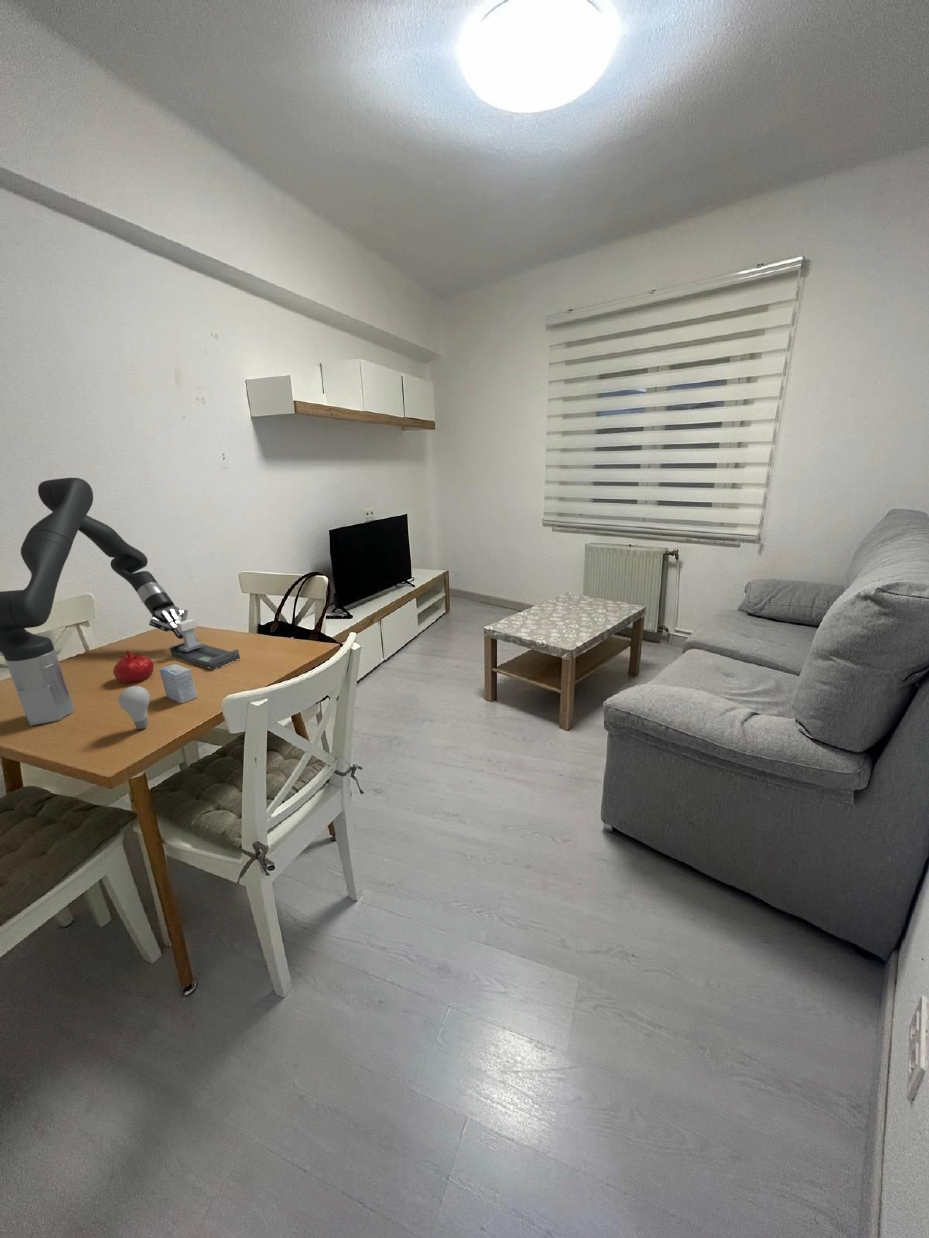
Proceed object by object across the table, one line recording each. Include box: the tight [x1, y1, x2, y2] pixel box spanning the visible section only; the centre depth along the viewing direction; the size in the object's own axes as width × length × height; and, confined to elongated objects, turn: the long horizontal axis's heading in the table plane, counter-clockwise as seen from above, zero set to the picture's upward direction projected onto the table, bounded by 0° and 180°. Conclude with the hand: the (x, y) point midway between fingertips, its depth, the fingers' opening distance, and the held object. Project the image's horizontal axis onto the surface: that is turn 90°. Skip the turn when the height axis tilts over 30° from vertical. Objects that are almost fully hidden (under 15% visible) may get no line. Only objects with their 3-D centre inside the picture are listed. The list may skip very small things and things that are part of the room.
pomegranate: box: [112, 650, 155, 684], centre depth 139 cm, size 10×10×9 cm
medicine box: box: [159, 663, 198, 704], centre depth 126 cm, size 8×4×9 cm, turn 58°
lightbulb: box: [118, 685, 151, 730], centre depth 111 cm, size 6×6×11 cm
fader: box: [176, 618, 205, 652], centre depth 155 cm, size 4×6×9 cm, turn 150°
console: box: [168, 638, 241, 670], centre depth 154 cm, size 24×9×4 cm, turn 60°
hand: (183, 637), depth 158 cm, fingers closed
